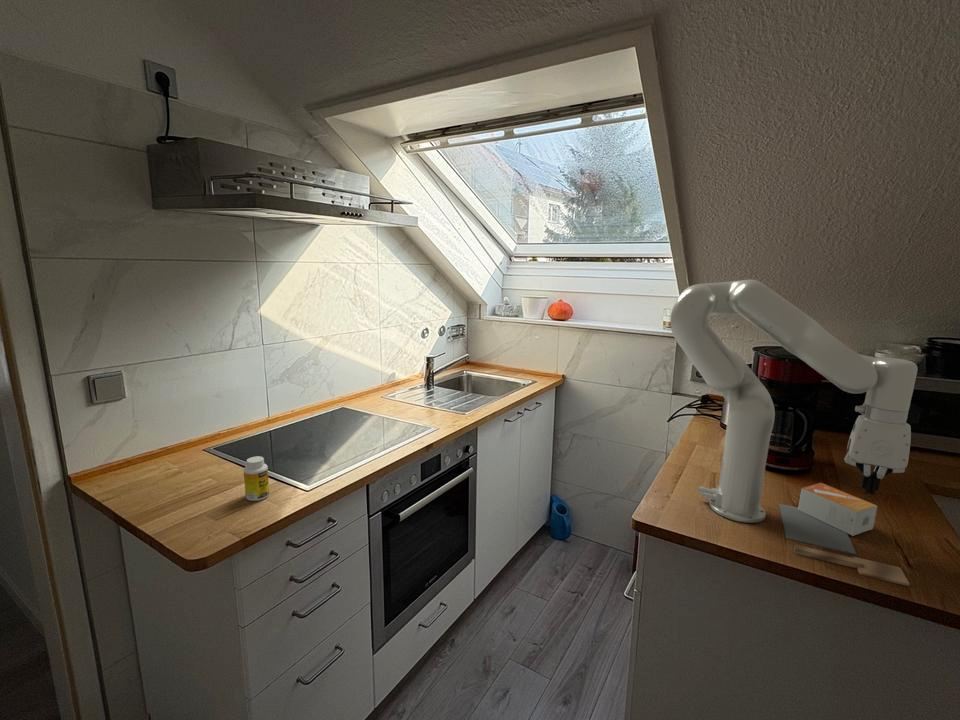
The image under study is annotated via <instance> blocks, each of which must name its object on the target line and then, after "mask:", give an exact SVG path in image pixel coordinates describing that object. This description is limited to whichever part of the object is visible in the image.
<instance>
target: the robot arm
mask: <svg viewBox="0 0 960 720" xmlns="http://www.w3.org/2000/svg"><path fill="white" fill-rule="evenodd" d="M672 307H673V308H672V309H671V312H670V313H671V314H670V318H669V319H670V323H669V324H670V329H671V333H672V336H673V337H674V339H675V341H676V343H677V344H678V345H679V346H680V348H681V349H682V351H683V353H684V354H685V355H686V356H687V358H688V359H689V361H690V362H691V363H692V365H693V367H694V368H695V369H696V370H697V371H698V373H699V374H700V375H701V377H702V378H703V380H704V381H705V383H706V384H707V385H708V386H709V387H710V388H711V389H713V390H715V391H717V392H719V393H720V394H721V396H722V397H723V398H724V399H725V401H726V402H727V404H728V414H727V422H726V428H725V429H726V430H725V437H724V444H723V451H722V459H721V467H720V473H719V481H718V484H717V485H716V488H715V487H711V488H710V487H709V488H708V487H706V486H700V485H698V491H697V493H698V494H700V495H702V498H703V499H704V498H705V499H709V506H710V509H712V511H714V512H715V513H716V514H718V515H720V516H722V517H723V518H726V519H729V520H732V521H735V522H738V523H739V522H740V523H741V522H742V523H747V524H748V523H750V524H751V523H759V522H762V521H764V520H765V518H766V516H767V515H766V511H765V508H763V507H762V506H761V504H760V503H761V498H762V497H761V496H762V493H763V492H762V491H763V485H764V479H765V478H764V477H765V471H766V465H767V459H768V454H769V453H768V452H769V447H770V441H771V436H772V432H773V428H774V423H775V416H776V413H775V404H774V402H773V399H772V396H771V395H770V393H769V391H768V389H767V388H766V387H765V385H764V384H763V383H762V381H760V379H759V377H757V376H756V373H754V372H753V370H752V369H751V368H750V366H749V365H748V364H747V362H746V361H744V359H743V358H742V357H741V355H740V354H739V353H737V352H736V351H734V350H731V349H728V347H727V345H725V344H724V342H723V341H722V340H721V338H720V337H719V336H718V334H717V333H716V332H715V331H714V329H713V328H712V327H711V325H710V322H709V317H710V316H727V315H740V317H742V318H744V319H745V320H746V321H747V322H748V323H750V324H751V325H753V326H755V328H757V329H759V330H760V331H761V332H762V333H764V334H765V335H767V336H768V337H769V338H770V339H771V340H773V341H774V342H776V343H777V344H778V345H780V346H781V347H782V348H783V349H785V350H786V351H787V352H789V353H790V354H792V355H794V356H795V357H797V358H798V359H800V360H801V361H803V362H804V363H805V364H807V365H808V366H809V367H810V368H812V369H813V370H814V371H816V372H817V373H818V374H820V375H822V376H823V377H824V378H825V379H826V380H828V381H829V382H831V383H832V384H833V385H835V386H836V387H837V388H839V389H840V390H842V391H843V392H846V393H850V394H855V395H856V394H863V393H866V394H865V399H864V402H863V404H862V405H855V407H854V411H855V412H856V413H860V414H861V415H858V417H856V420H855V422H854V424H853V427H852V430H851V432H850V435H849V439H848V443H847V447H846V454H845V457H844V462H845V463H846V464H848V465H851V466H853V467H857V468H858V471H860V472H861V478H860V483H859V486H860V488H861V489H862V490H863V492H864V493H865V494H869V495H872V496H875V493H876V491H878V490H879V488H880V484H881V480H882V479H884V477H885V476H888V475H890V474H892V473H893V474H900V473H901V474H902V473H905V472H906V470H905V469H906V468H907V466H908V463H909V457H910V453H911V452H910V450H911V439H912V430H911V429H912V427H911V425H910V424H909V423H907V420H908V415H909V410H910V407H911V401H912V397H913V393H914V388H915V384H916V378H917V374H918V366H917V364H916V363H915V362H914V361H911V360H907V359H902V358H895V357H875V356H870V355H865V354H859V353H857V352H855V351H854V350H853V349H852V348H850V347H849V346H847V345H846V344H844V343H843V342H842V341H840V339H839V340H838V339H837V338H836V337H835V336H833V335H832V334H831V333H830V332H828V331H827V330H826V329H825V328H823V326H821V325H820V324H819V322H817V321H816V320H815V319H814V318H812V317H811V316H810V315H808V313H807V314H806V312H804V311H802V310H801V309H800V308H798V307H797V306H795V305H794V304H793V303H791V302H790V301H789V300H787V299H786V298H784V297H783V296H782V295H780V294H779V293H777V292H776V291H774V290H773V289H772V288H770V287H769V286H767V285H766V284H764V283H763V282H761V281H759V280H756V279H742V280H731V281H723V282H722V281H721V282H708V283H697V284H693V285H690V286H688V287H686V288H685V289H684V290H682V292H681V293H680V294H679V296H678V297H677V299H676V300H675V302H674V305H673V306H672ZM871 466H873V467H874V470H873V471H872V472H871V469H872V468H871Z"/></svg>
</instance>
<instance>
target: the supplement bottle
mask: <svg viewBox="0 0 960 720" xmlns="http://www.w3.org/2000/svg"><path fill="white" fill-rule="evenodd" d="M243 479H244V496H245V498H246V500H247V501H250V502H258V501H262V500H264V499H266V498H267V497H268V496H269V495H270V488H269V487H270V486H269V484H270V483H269V482H270V481H269V467H268V465H267V464H266V463H265V458H264V457H263V456H259V455H258V456H257V455H256V456H252V457H249V458H247V459H246V466H244V468H243Z"/></svg>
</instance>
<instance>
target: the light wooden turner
mask: <svg viewBox="0 0 960 720" xmlns="http://www.w3.org/2000/svg"><path fill="white" fill-rule="evenodd" d="M793 552H794V554H796V555H801V556H802V557H803V556H804V557H808V558H813V559H816V560H820V561H824V562H825V561H826V562H827V563H833V564H837V565H840V566H846V567H849V568H853V569H857V572H858V575H862V576H866V577H869V578H874V579H876V580H877V579H878V580H881V581H882V580H883V581H886V582H889V583H894V584H897V585H903V586H906V587H910V586H911V584H910V582H909V579H908V578H907V577H906V575H905V573H904V572H903V570H902V568H901V567H900V566H895V565H891V564H887V563H883V562H879V561H874V560H871V559H870V560H869V559H865V558H862V557H857V556H852V557H849V556H847V555H842V554H838V553H832V552H828V551H826V550H821V549H816V548H811V547H808V546H804V545H800V544H799V545H798V544H794V546H793Z"/></svg>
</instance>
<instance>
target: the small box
mask: <svg viewBox="0 0 960 720" xmlns="http://www.w3.org/2000/svg"><path fill="white" fill-rule="evenodd" d="M800 489H801V491H800V495H799V502H798V506H797V507H798V510H799V511H801V512H803V513H805V514H807V515H809V516H812V517H814V518H816V519H818V520H820V521H822V522H824V523H827V524H829V525H831V526H833V527H835V528H837V529H839V530H841V531H843V532H846V533H847V534H848V535H850V536H852V537H854V536H856V535H860V534H862V533H865V532H867V531H871V530H873V529H874V525H875V520H876V515H877V511H878V510H877V509H878V505H876V504H874V503H872V502H869V501H867V500H865V499H862V498H859V497H858V496H855V495H852V494H849V493H847V492H845V491H842V490H840V489H837V488H835V487H833V486H830V485H828V484H825V483H823V482H819V483H815V484H812V485H808V486H804V487H802V488H800Z"/></svg>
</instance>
